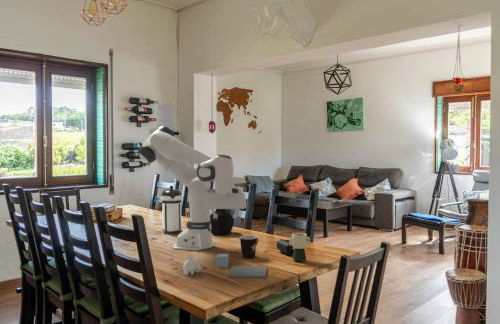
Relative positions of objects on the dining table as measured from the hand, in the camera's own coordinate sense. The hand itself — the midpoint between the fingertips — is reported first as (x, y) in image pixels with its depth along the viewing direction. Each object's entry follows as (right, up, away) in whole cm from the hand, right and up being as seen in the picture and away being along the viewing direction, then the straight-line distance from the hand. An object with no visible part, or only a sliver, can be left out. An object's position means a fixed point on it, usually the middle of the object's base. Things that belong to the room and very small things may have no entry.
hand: (225, 218), depth 198 cm
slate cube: (-1, -22, -2) cm, 22 cm away
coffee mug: (+12, -21, +13) cm, 28 cm away
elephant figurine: (-14, -23, -12) cm, 30 cm away
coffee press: (-39, -19, +74) cm, 86 cm away
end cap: (+31, -21, +19) cm, 42 cm away
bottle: (-7, -19, +67) cm, 70 cm away
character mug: (+36, -22, +5) cm, 42 cm away
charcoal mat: (+11, -22, -13) cm, 28 cm away
